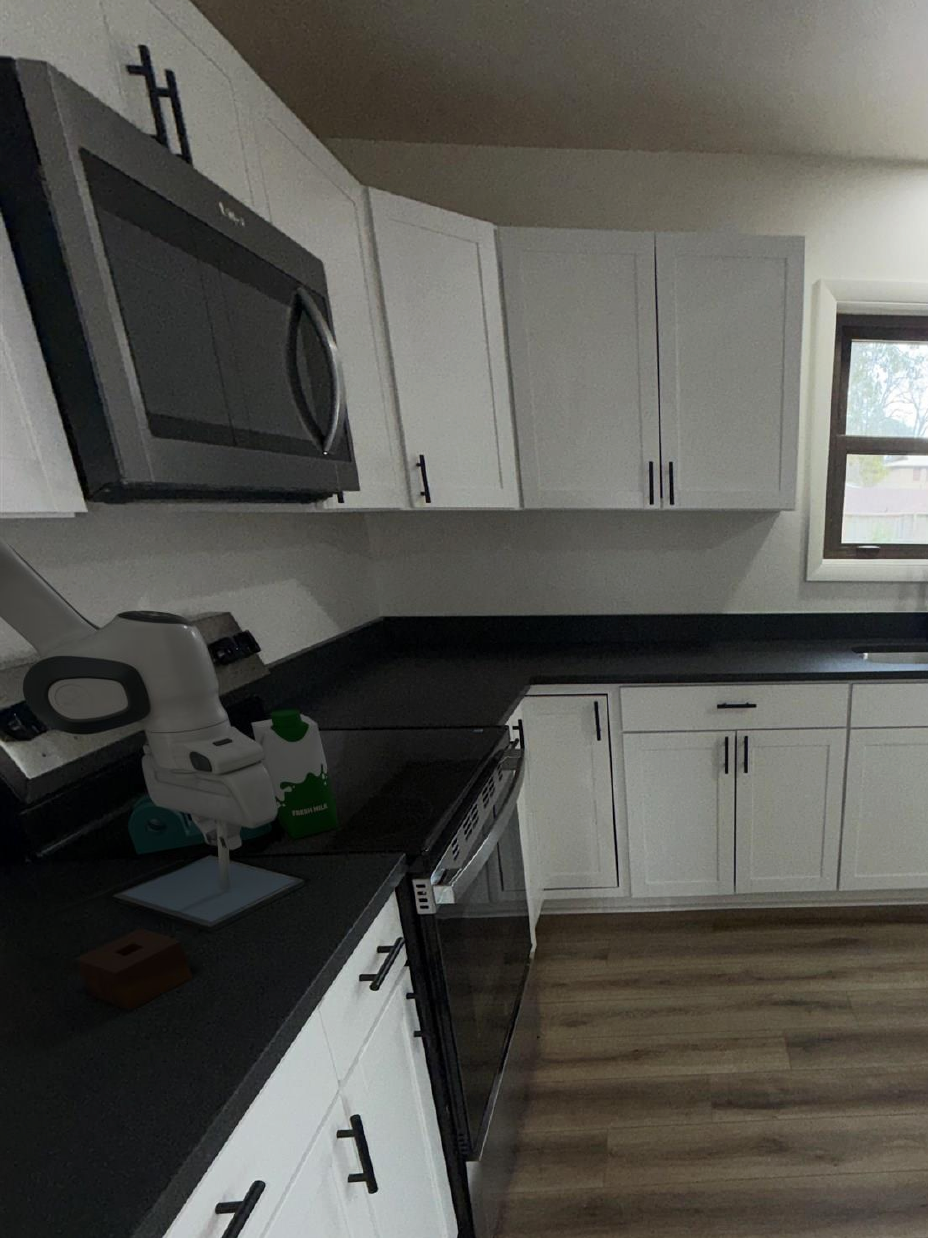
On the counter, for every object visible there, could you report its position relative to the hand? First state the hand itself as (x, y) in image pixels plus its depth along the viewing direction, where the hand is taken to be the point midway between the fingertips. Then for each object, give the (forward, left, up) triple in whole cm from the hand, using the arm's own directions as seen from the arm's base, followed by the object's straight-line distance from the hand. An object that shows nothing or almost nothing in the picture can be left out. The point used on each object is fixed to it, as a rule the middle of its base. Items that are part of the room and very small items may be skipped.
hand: (224, 845), depth 102 cm
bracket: (-24, +12, -9) cm, 28 cm away
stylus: (-3, 0, -8) cm, 8 cm away
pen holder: (+8, -18, -8) cm, 22 cm away
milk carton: (-13, +22, -9) cm, 27 cm away
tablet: (-6, 0, -8) cm, 10 cm away
